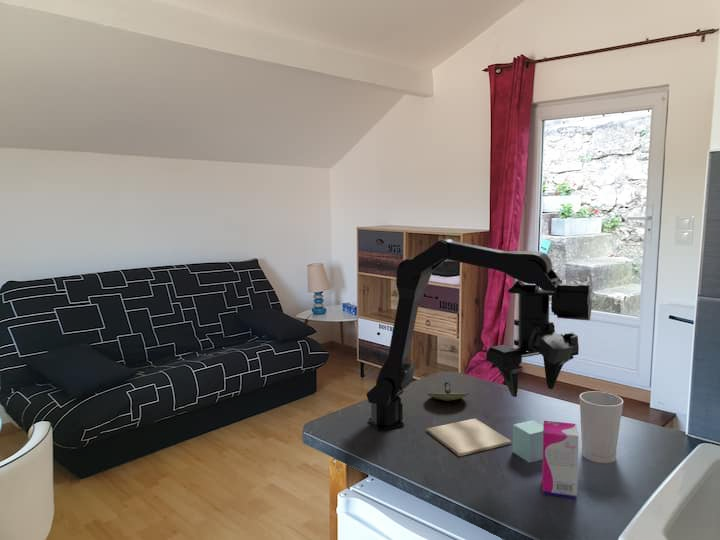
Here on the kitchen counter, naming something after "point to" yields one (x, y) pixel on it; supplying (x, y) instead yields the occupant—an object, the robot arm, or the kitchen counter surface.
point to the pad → (468, 437)
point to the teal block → (528, 440)
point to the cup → (600, 425)
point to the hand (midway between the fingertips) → (532, 392)
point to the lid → (447, 395)
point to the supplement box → (560, 459)
